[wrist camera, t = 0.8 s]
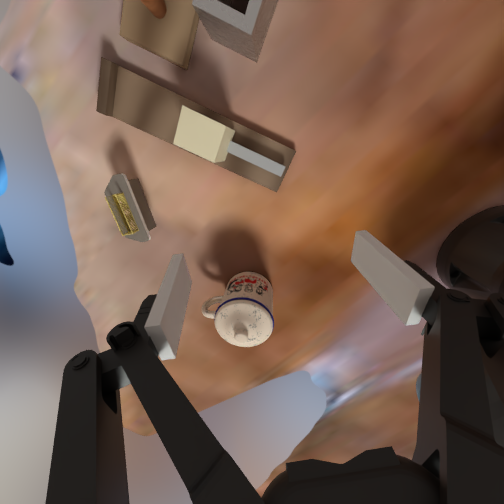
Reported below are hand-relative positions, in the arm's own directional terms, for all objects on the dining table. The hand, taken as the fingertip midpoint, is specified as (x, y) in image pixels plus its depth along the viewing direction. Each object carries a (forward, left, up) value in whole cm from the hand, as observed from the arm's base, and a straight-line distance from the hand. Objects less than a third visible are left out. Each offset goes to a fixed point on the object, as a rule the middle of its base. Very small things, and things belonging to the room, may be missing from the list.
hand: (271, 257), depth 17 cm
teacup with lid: (-2, +17, -19) cm, 26 cm away
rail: (+13, -5, -19) cm, 23 cm away
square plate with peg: (+21, -15, -19) cm, 32 cm away
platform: (+19, +9, -20) cm, 29 cm away
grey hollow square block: (+12, -18, -19) cm, 29 cm away
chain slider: (+7, -5, -17) cm, 20 cm away
